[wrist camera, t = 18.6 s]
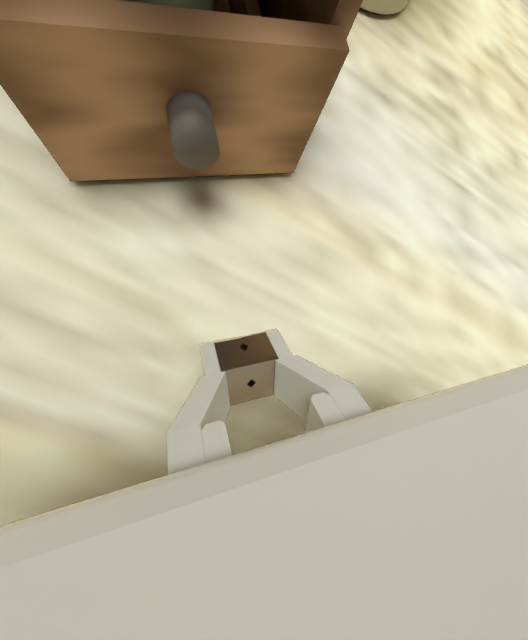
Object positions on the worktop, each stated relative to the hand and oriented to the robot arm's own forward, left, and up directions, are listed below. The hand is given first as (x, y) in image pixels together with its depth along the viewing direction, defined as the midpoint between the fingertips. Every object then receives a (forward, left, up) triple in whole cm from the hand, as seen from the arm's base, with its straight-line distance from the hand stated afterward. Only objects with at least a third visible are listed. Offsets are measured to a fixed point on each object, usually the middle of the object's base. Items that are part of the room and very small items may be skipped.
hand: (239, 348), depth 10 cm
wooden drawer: (0, +17, -4) cm, 17 cm away
